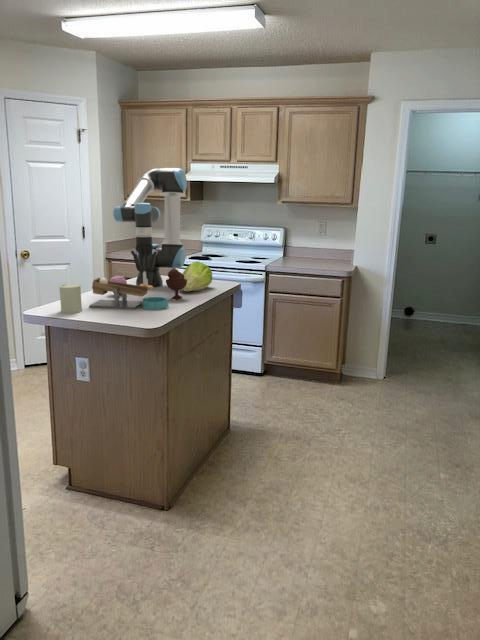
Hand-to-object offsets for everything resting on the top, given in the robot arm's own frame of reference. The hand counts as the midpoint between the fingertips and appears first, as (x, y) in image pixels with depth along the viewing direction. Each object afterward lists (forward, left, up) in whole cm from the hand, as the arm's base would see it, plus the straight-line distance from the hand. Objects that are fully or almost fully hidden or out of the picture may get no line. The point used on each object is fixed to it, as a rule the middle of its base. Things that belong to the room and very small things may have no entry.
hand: (145, 285), depth 248 cm
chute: (+6, -9, -4) cm, 12 cm away
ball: (+10, -17, +3) cm, 20 cm away
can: (+24, -27, -8) cm, 37 cm away
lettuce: (-34, +17, -8) cm, 38 cm away
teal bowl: (+10, +8, -8) cm, 15 cm away
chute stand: (+10, -11, -8) cm, 17 cm away
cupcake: (-14, -19, -8) cm, 25 cm away
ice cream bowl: (-10, +13, -8) cm, 18 cm away
